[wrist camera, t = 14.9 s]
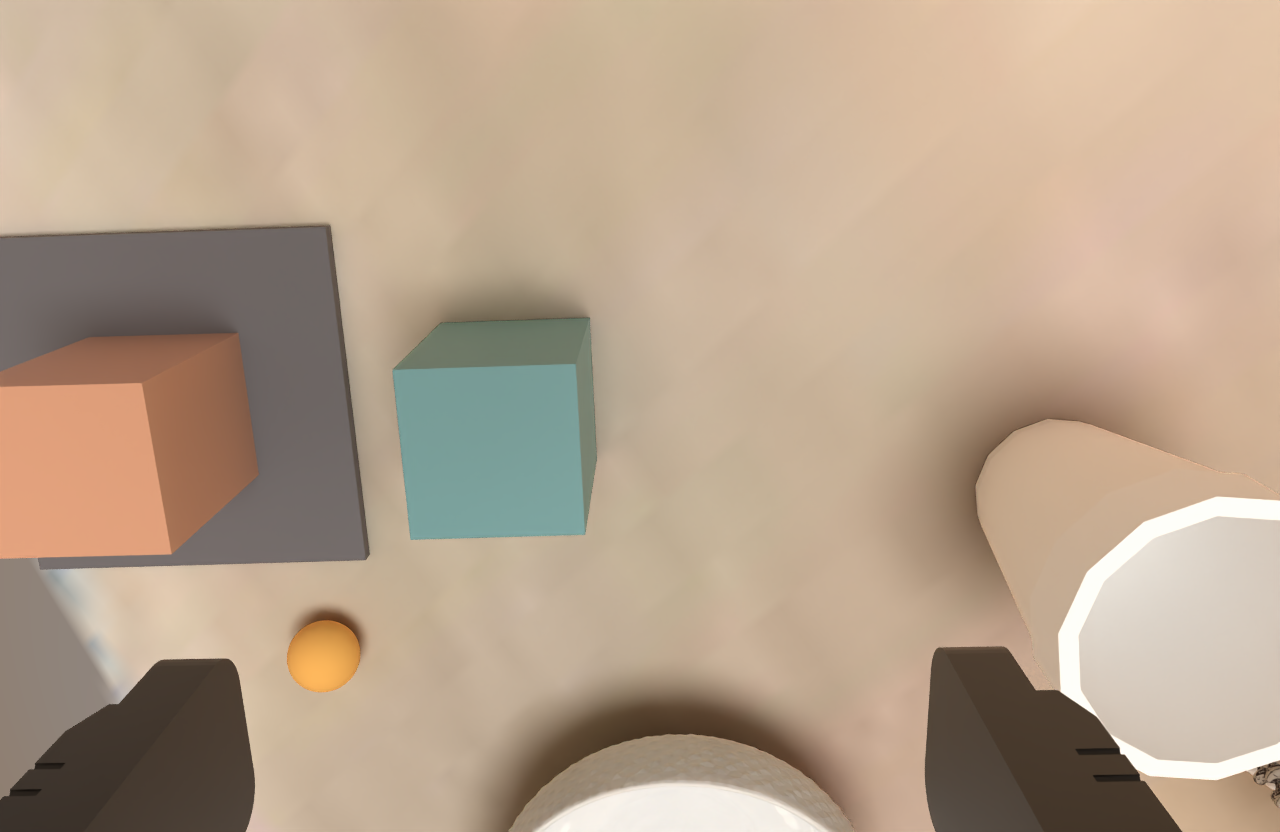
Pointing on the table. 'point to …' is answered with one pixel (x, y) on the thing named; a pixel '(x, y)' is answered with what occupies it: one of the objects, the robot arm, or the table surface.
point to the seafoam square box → (498, 429)
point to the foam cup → (1144, 592)
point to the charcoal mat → (271, 353)
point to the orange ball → (323, 656)
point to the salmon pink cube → (122, 444)
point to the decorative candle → (1269, 778)
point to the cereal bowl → (681, 791)
